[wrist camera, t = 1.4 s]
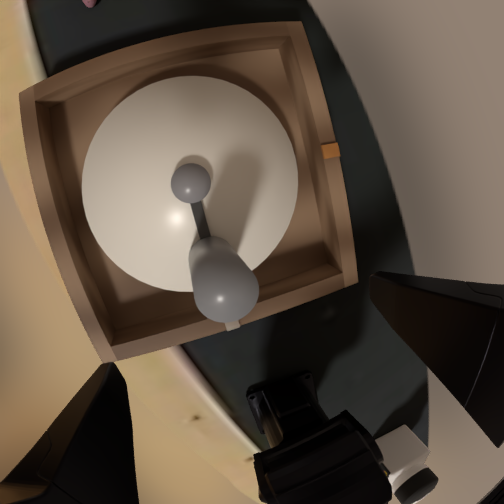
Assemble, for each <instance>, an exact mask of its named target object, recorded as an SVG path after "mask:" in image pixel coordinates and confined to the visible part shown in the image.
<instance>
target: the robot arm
mask: <svg viewBox="0 0 504 504" xmlns="http://www.w3.org/2000/svg"><path fill="white" fill-rule="evenodd" d="M369 289H370V299H371V301H372V302H373V304H374V305H375V306H376V308H377V309H378V310H379V312H380V313H381V314H382V315H383V317H384V318H385V319H386V321H387V322H388V323H389V325H390V326H391V327H392V328H393V330H394V331H395V332H396V333H397V334H398V335H399V336H400V337H401V338H402V340H403V341H404V342H405V343H406V344H407V345H408V346H409V347H410V348H411V349H412V350H413V351H414V352H415V353H416V355H417V356H418V357H419V358H420V359H421V360H422V361H423V362H424V363H425V364H426V365H427V367H428V368H429V369H430V370H431V371H432V372H433V373H434V374H435V375H436V377H437V378H438V379H439V380H440V381H441V382H442V383H443V384H444V385H445V387H446V388H447V389H448V390H449V391H450V392H451V394H452V395H453V396H454V397H455V398H456V399H457V400H458V401H459V403H460V404H461V405H462V406H463V407H464V408H465V410H466V411H467V412H468V413H469V415H470V416H471V417H472V418H473V419H474V421H475V422H476V423H477V424H478V425H479V426H480V428H481V429H482V430H483V431H484V433H485V434H486V435H487V436H488V437H489V439H490V440H491V441H492V442H493V444H494V445H495V446H496V447H497V448H499V447H500V446H501V445H502V444H503V442H504V285H501V284H485V283H476V282H464V281H458V280H449V279H440V278H433V277H424V276H416V275H407V274H399V273H391V272H382V271H379V272H376V273H374V274H372V275H371V276H370V278H369ZM307 375H308V376H307ZM250 396H252V397H250ZM246 397H247V400H248V403H249V405H250V408H251V411H252V413H253V416H254V418H255V421H256V423H257V426H258V429H259V431H260V433H261V434H266V437H267V439H268V442H269V444H270V446H271V448H270V449H268V450H266V451H263V452H261V453H260V452H258V453H256V454H253V456H254V460H255V461H254V468H255V472H256V476H257V481H258V485H259V499H260V500H261V502H264V503H267V504H388V502H389V501H390V500H391V499H392V486H391V484H390V482H389V480H388V478H387V476H386V474H385V473H384V471H383V469H382V467H381V466H380V463H382V462H383V461H384V458H383V455H382V452H381V450H380V448H379V446H378V445H377V443H376V441H375V440H374V438H373V437H372V436H371V434H370V433H369V432H368V431H367V430H366V429H365V428H364V427H363V426H362V425H361V424H360V423H359V422H358V421H357V420H356V419H355V418H354V417H353V416H352V415H351V414H350V413H349V412H348V411H347V410H344V411H342V412H341V413H340V414H339V415H337V416H335V417H334V418H332V419H330V420H329V418H328V417H327V415H326V414H325V412H324V411H323V409H322V408H321V407H320V405H319V404H318V402H317V399H316V393H315V387H314V381H313V375H312V373H311V372H310V371H308V370H307V371H304V372H301V373H299V374H296V375H294V376H291V377H289V378H286V379H283V380H281V381H278V382H275V383H273V384H270V385H267V386H264V387H261V388H258V389H256V390H253V391H250V392H248V393H247V394H246ZM0 504H139V498H138V490H137V482H136V472H135V460H134V447H133V429H132V420H131V413H130V406H129V399H128V392H127V384H126V381H125V379H124V378H123V376H122V374H121V373H120V371H119V369H118V368H117V366H116V365H115V363H114V362H107V363H103V364H101V365H100V366H99V367H98V369H97V370H96V371H95V372H94V373H93V374H92V376H91V377H90V378H89V379H88V380H87V382H86V383H85V384H84V385H83V386H82V388H81V389H80V390H79V391H78V392H77V394H76V395H75V396H74V397H73V398H72V400H71V401H70V402H69V403H68V404H67V406H66V407H65V408H64V409H63V410H62V412H61V413H60V414H59V415H58V417H57V418H56V419H55V420H54V422H53V423H52V424H51V425H50V427H49V428H48V429H47V431H45V433H44V434H43V435H42V437H41V438H40V439H39V440H38V441H37V443H36V444H35V445H34V447H33V448H32V449H31V450H30V451H29V452H28V453H27V454H26V456H25V457H24V458H23V459H22V460H21V461H20V462H19V463H18V464H17V465H16V467H15V468H14V469H13V470H12V471H11V472H10V473H9V474H8V475H7V476H6V477H5V478H4V480H2V481H1V482H0ZM477 504H504V477H503V478H502V479H501V480H500V481H499V483H497V484H496V485H495V487H494V488H493V489H492V490H491V491H490V492H489V493H487V495H485V496H484V497H483V498H482V499H481V500H480V501H479V502H478V503H477Z"/></svg>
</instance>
